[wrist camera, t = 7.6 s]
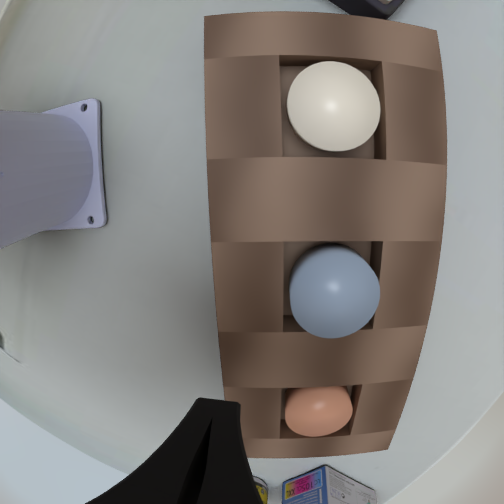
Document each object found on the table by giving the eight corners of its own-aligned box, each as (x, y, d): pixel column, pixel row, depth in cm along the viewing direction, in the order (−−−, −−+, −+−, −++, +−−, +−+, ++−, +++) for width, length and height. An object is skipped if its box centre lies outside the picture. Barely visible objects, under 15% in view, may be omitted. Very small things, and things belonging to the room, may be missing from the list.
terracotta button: (283, 417, 21) (284, 437, 19) (285, 372, 20) (286, 392, 18) (343, 415, 21) (347, 434, 19) (351, 370, 20) (357, 389, 18)
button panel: (235, 432, 23) (231, 456, 20) (213, 33, 15) (204, 16, 12) (380, 427, 22) (387, 449, 20) (418, 43, 14) (436, 30, 11)
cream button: (287, 151, 16) (289, 150, 14) (284, 70, 15) (285, 59, 13) (369, 153, 16) (381, 153, 14) (366, 74, 14) (377, 65, 12)
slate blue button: (288, 320, 18) (289, 339, 16) (288, 243, 16) (290, 254, 14) (364, 318, 17) (373, 336, 15) (372, 242, 16) (384, 254, 14)
